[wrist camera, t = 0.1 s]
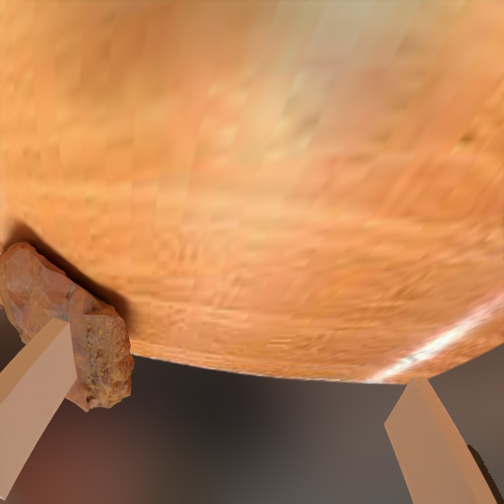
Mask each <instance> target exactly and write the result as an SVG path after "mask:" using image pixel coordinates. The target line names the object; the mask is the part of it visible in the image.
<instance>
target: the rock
mask: <svg viewBox="0 0 504 504" xmlns="http://www.w3.org/2000/svg"><path fill="white" fill-rule="evenodd" d="M0 304H1V305H3V306H4V307H5V310H6V314H7V317H8V319H9V321H10V322H11V323H12V324H13V325H14V326H15V328H16V329H17V330H18V331H19V333H20V337H21V338H22V342H24V343H25V344H26V345H27V344H28V343H29V342H30V341H31V340H32V339H33V337H34V336H35V335H36V334H37V333H38V332H39V331H40V330H41V329H42V328H43V327H44V326H45V325H46V324H47V323H48V322H49V321H50V320H51V319H52V318H56V319H59V320H62V321H66V322H69V323H70V331H71V339H72V347H73V354H74V361H75V367H76V373H77V379H76V380H75V382H74V384H73V385H72V387H71V388H70V390H69V391H68V393H67V394H66V396H65V397H64V398H66V399H68V400H71V401H73V402H74V403H76V404H77V405H78V406H79V407H81V408H82V409H83V410H84V411H86V412H88V410H89V408H91V409H92V408H93V407H99V406H101V407H104V408H111V407H112V405H114V404H116V403H118V402H120V401H121V400H122V398H125V397H126V396H130V393H131V378H130V375H131V372H132V369H133V367H134V360H133V358H132V356H131V354H130V346H131V345H130V341H129V336H128V332H127V330H126V328H125V327H126V323H125V322H124V320H123V319H122V318H121V317H120V315H119V314H118V313H117V312H116V311H115V308H114V306H111V305H109V304H106V303H105V302H104V301H102V300H101V299H99V298H97V297H96V296H94V295H92V294H91V293H90V292H88V291H87V290H86V289H84V288H83V287H81V286H80V285H78V284H76V283H74V282H73V281H72V280H71V279H70V278H68V277H67V276H66V274H65V272H64V271H62V270H61V269H59V268H57V267H56V266H54V265H53V264H52V263H50V262H49V261H48V260H47V259H46V258H45V257H44V256H42V255H40V254H38V253H37V251H36V249H35V248H34V247H32V246H31V245H30V244H29V243H28V242H18V243H14V244H13V245H11V246H10V247H9V248H8V249H7V250H6V252H4V253H2V254H1V255H0Z"/></svg>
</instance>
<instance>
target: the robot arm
mask: <svg viewBox="0 0 504 504" xmlns="http://www.w3.org/2000/svg"><path fill="white" fill-rule="evenodd" d="M76 379H77V373H76V367H75V361H74V354H73V347H72V339H71V331H70V323H69V322H66V321H62V320H59V319H56V318H52V319H51V320H50V321H49V322H48V323H47V324H46V325H45V326H44V327H43V328H42V329H41V330H40V331H39V332H38V333H37V334H36V335H35V336H34V337H33V339H32V340H31V341H30V342H29V343H28V344H27V345H26V346H25V347H24V348H23V349H22V350H21V351H20V352H19V353H18V355H16V357H15V358H14V359H13V360H12V361H11V362H10V363H9V364H8V365H7V366H6V367H5V369H4V370H3V371H2V372H1V373H0V498H1V499H3V500H4V501H5V499H6V497H7V495H8V493H9V491H10V490H11V488H12V486H13V484H14V482H15V480H16V478H17V477H18V475H19V473H20V471H21V469H22V467H23V466H24V464H25V462H26V460H27V459H28V457H29V455H30V453H31V452H32V450H33V448H34V446H35V445H36V443H37V441H38V440H39V438H40V436H41V435H42V433H43V431H44V430H45V428H46V426H47V424H48V423H49V421H50V420H51V418H52V416H53V415H54V413H55V412H56V410H57V408H58V407H59V405H60V404H61V402H62V401H63V399H64V397H65V396H66V394H67V393H68V391H69V390H70V388H71V387H72V385H73V384H74V382H75V380H76ZM384 426H385V428H386V431H387V433H388V436H389V438H390V441H391V444H392V446H393V449H394V451H395V454H396V457H397V459H398V462H399V464H400V467H401V470H402V472H403V475H404V478H405V481H406V483H407V486H408V489H409V492H410V494H411V497H412V500H413V503H414V504H504V500H503V498H502V496H501V494H500V492H499V490H498V488H497V486H496V484H495V482H494V481H493V479H492V477H491V475H490V473H488V469H487V468H486V466H485V465H484V462H483V461H482V459H481V457H480V455H479V453H478V452H477V451H476V450H475V449H474V448H473V447H471V446H470V445H466V444H465V442H464V440H463V438H462V437H461V435H460V433H459V432H458V430H457V428H456V426H455V425H454V423H453V421H452V419H451V418H450V416H449V414H448V413H447V411H446V410H445V408H444V406H443V404H442V403H441V401H440V400H439V398H438V396H437V395H436V393H435V392H434V390H433V388H432V387H431V385H430V384H429V382H428V380H427V379H426V378H411V380H410V381H409V383H408V385H407V387H406V389H405V390H404V392H403V394H402V395H401V397H400V399H399V401H398V402H397V404H396V406H395V407H394V409H393V411H392V412H391V414H390V415H389V417H388V419H387V420H386V422H385V424H384Z"/></svg>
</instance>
